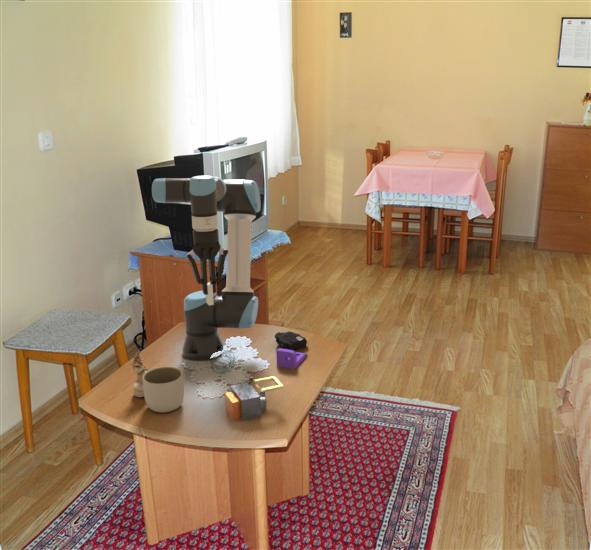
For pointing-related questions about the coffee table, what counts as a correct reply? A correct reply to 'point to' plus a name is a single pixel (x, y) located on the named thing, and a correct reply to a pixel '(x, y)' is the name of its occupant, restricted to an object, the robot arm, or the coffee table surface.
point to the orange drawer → (238, 405)
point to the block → (248, 400)
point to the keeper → (279, 384)
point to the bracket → (289, 358)
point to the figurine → (139, 374)
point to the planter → (163, 389)
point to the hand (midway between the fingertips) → (210, 303)
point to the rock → (290, 340)
